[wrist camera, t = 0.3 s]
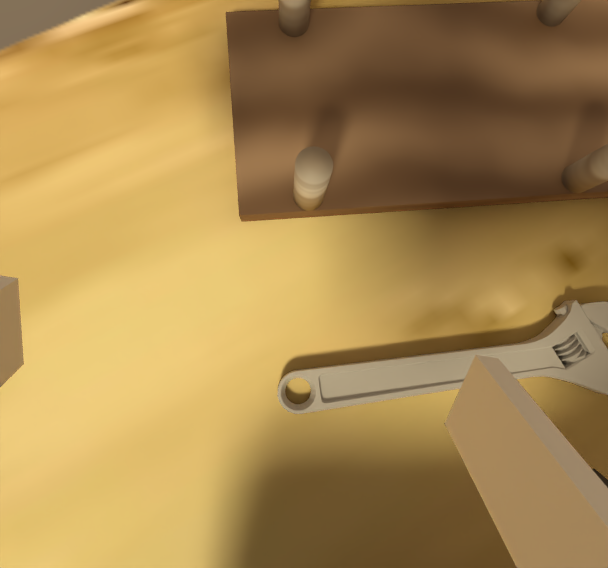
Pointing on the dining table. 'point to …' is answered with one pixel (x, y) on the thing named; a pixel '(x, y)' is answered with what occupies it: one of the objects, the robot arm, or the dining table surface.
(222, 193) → the dining table surface
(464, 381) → the robot arm
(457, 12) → the rack
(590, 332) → the adjustable wrench
